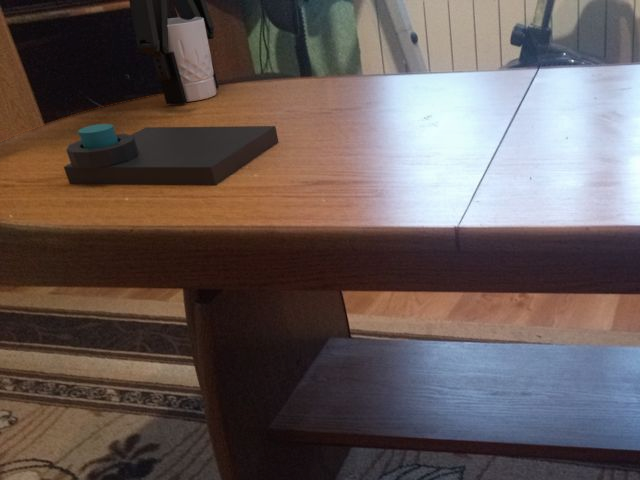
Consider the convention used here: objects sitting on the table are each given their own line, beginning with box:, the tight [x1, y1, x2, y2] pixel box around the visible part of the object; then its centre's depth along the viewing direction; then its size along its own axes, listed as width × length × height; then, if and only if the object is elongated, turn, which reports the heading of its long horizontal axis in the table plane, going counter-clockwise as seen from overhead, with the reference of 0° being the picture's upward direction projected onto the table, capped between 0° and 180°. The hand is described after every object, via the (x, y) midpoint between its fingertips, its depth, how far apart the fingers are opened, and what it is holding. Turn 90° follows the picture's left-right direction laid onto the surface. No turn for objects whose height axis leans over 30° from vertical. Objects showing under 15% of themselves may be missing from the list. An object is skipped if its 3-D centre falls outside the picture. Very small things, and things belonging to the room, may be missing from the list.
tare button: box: [77, 123, 118, 148], centre depth 72 cm, size 3×3×2 cm
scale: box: [63, 125, 279, 186], centre depth 75 cm, size 16×15×4 cm
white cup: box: [159, 17, 218, 103], centre depth 102 cm, size 8×8×10 cm
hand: (193, 95), depth 104 cm, fingers open, 8 cm apart
